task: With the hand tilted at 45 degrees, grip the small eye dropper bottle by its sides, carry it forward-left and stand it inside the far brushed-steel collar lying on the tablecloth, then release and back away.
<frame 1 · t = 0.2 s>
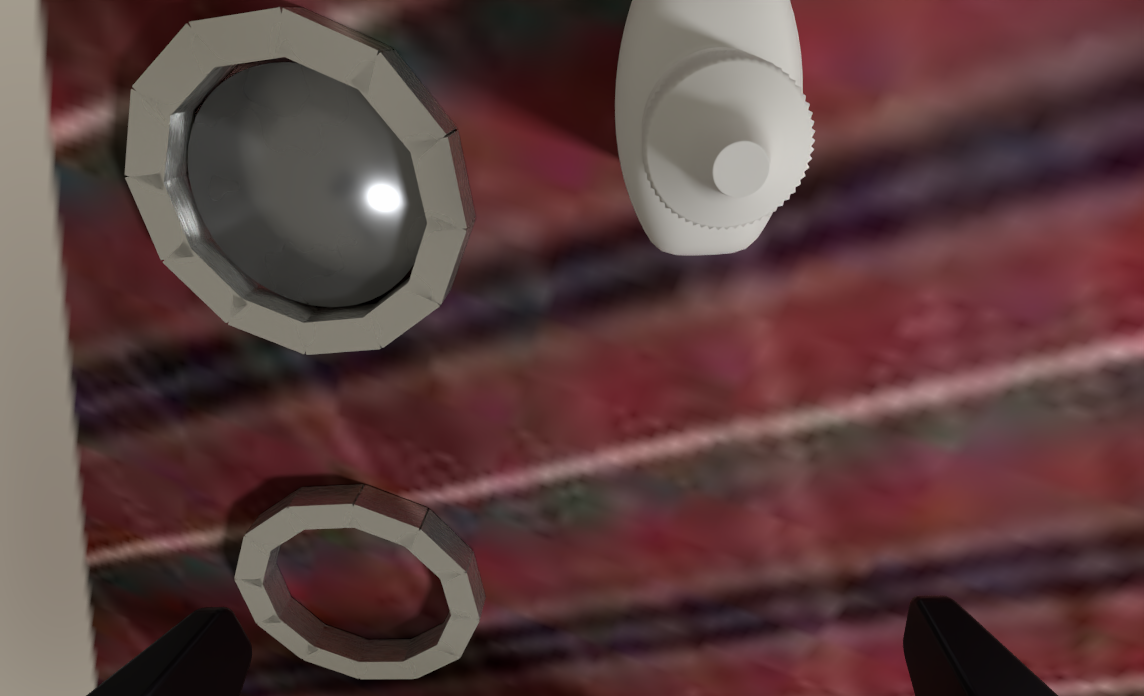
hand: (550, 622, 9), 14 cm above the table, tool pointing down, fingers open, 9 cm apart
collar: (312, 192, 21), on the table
eye dropper bottle: (683, 76, 19), on the table
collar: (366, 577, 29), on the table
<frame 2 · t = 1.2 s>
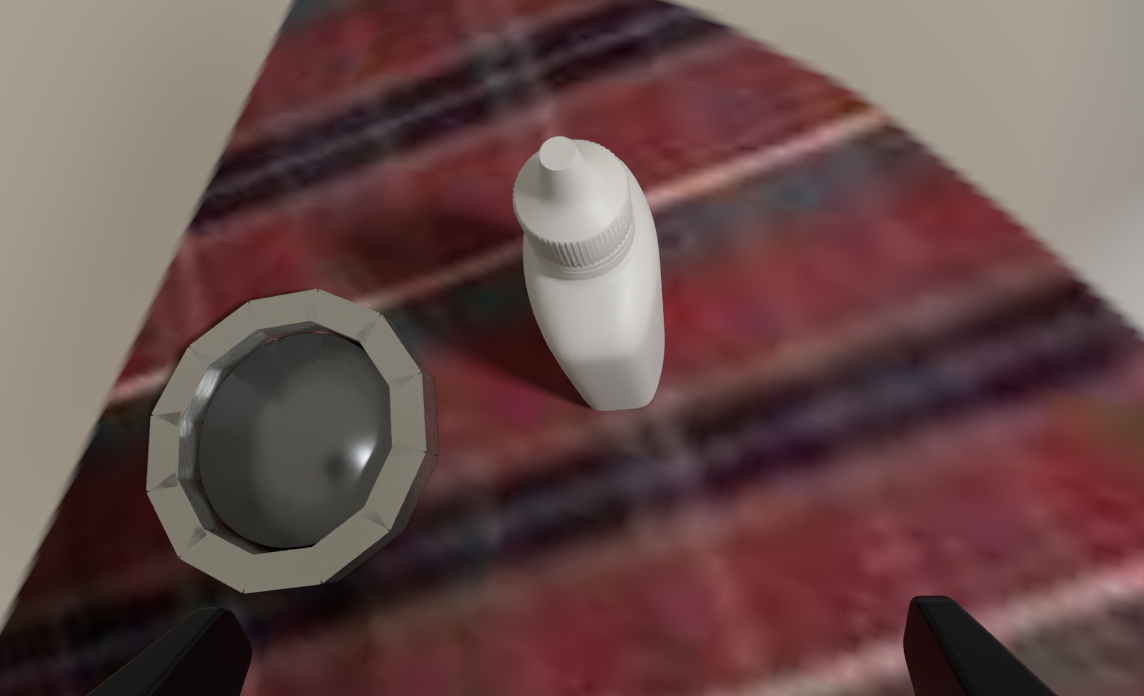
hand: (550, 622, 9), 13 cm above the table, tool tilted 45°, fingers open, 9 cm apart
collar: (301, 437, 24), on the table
eye dropper bottle: (616, 336, 24), on the table
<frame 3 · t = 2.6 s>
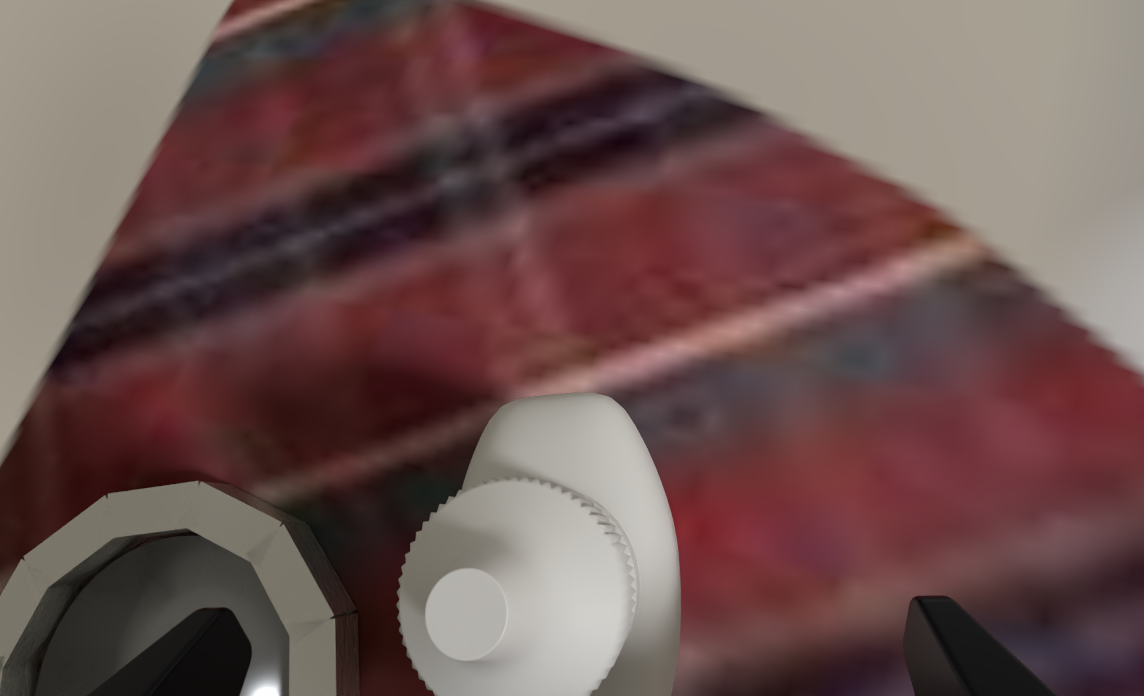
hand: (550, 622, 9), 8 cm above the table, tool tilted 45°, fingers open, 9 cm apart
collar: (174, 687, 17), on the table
eye dropper bottle: (611, 556, 17), on the table
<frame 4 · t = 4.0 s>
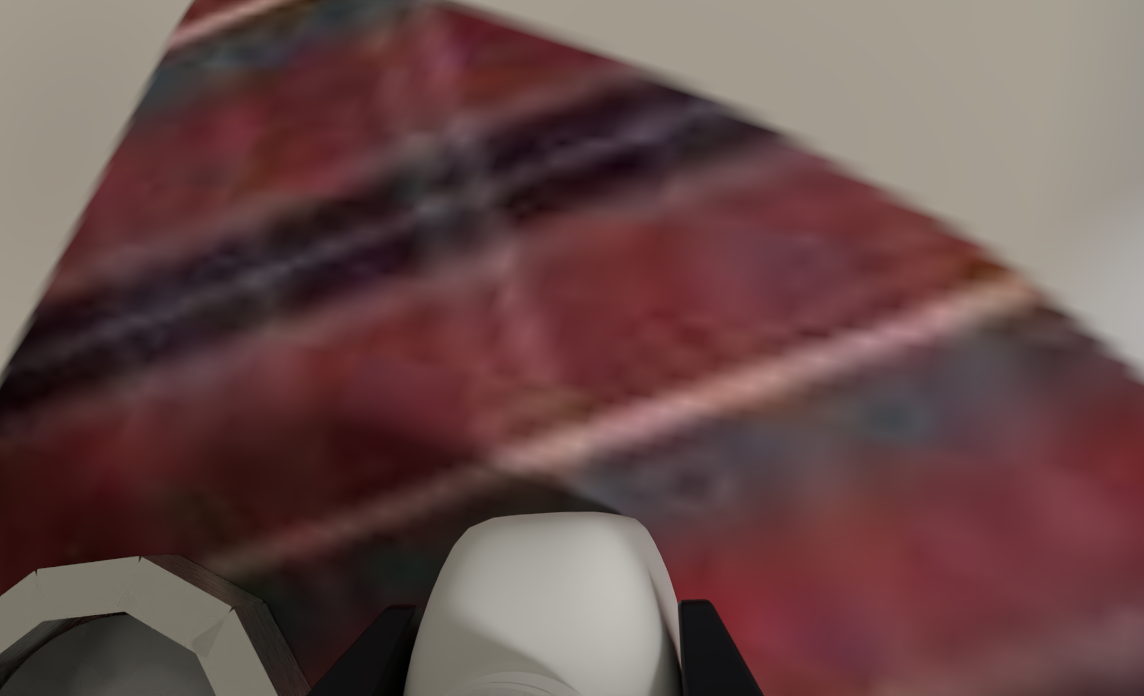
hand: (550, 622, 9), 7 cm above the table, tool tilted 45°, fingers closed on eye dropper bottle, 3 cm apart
eye dropper bottle: (607, 645, 15), on the table, touching gripper
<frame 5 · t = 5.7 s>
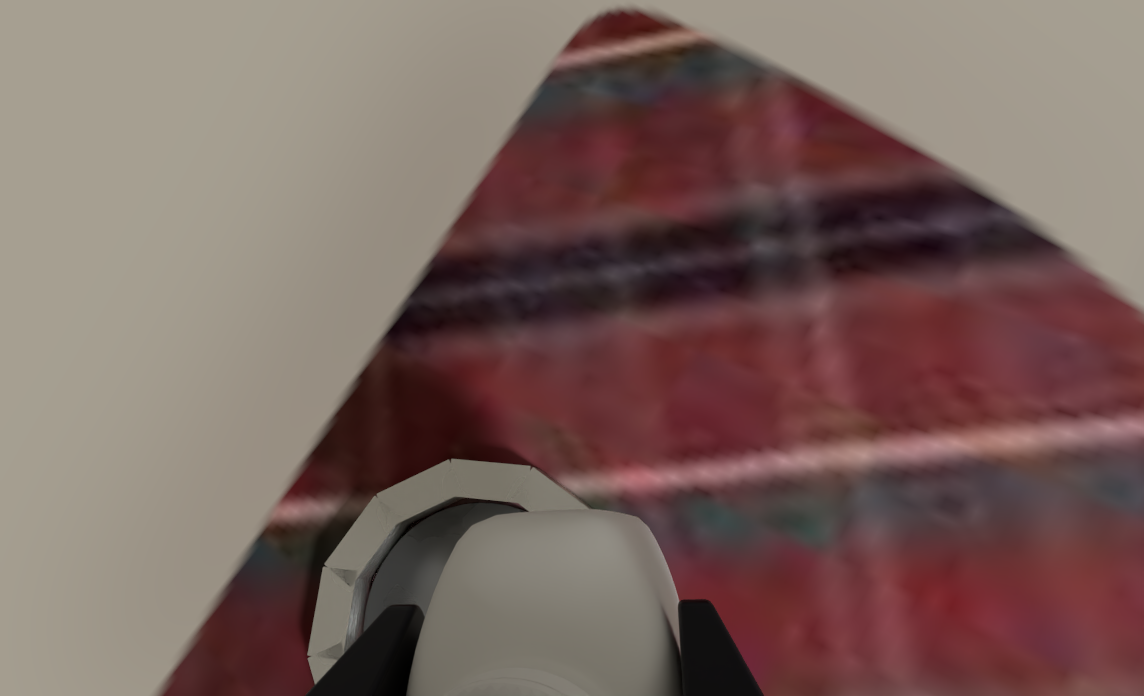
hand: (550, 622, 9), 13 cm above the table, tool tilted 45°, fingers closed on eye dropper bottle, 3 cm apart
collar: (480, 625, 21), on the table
eye dropper bottle: (609, 643, 15), point 6 cm above the table, touching gripper
when the fingers open (8 cm above the table, at t = 7.7 s): eye dropper bottle stays where it is, resting on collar.
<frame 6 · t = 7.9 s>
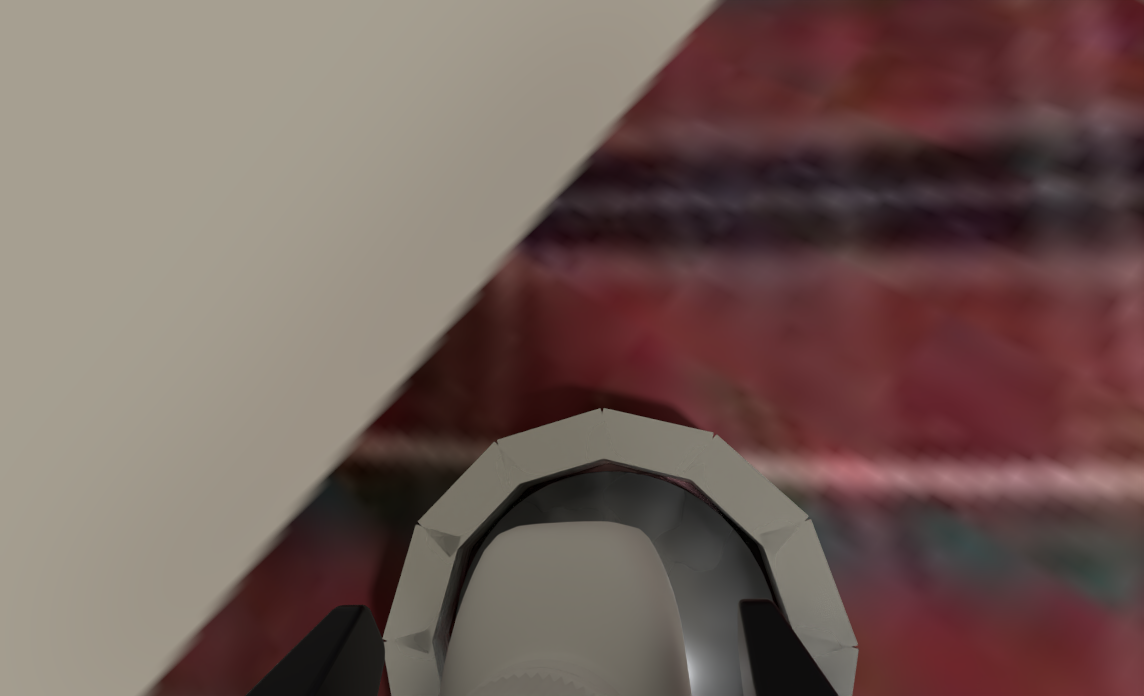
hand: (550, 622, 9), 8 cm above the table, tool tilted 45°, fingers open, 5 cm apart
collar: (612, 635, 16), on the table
eye dropper bottle: (611, 648, 16), resting on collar
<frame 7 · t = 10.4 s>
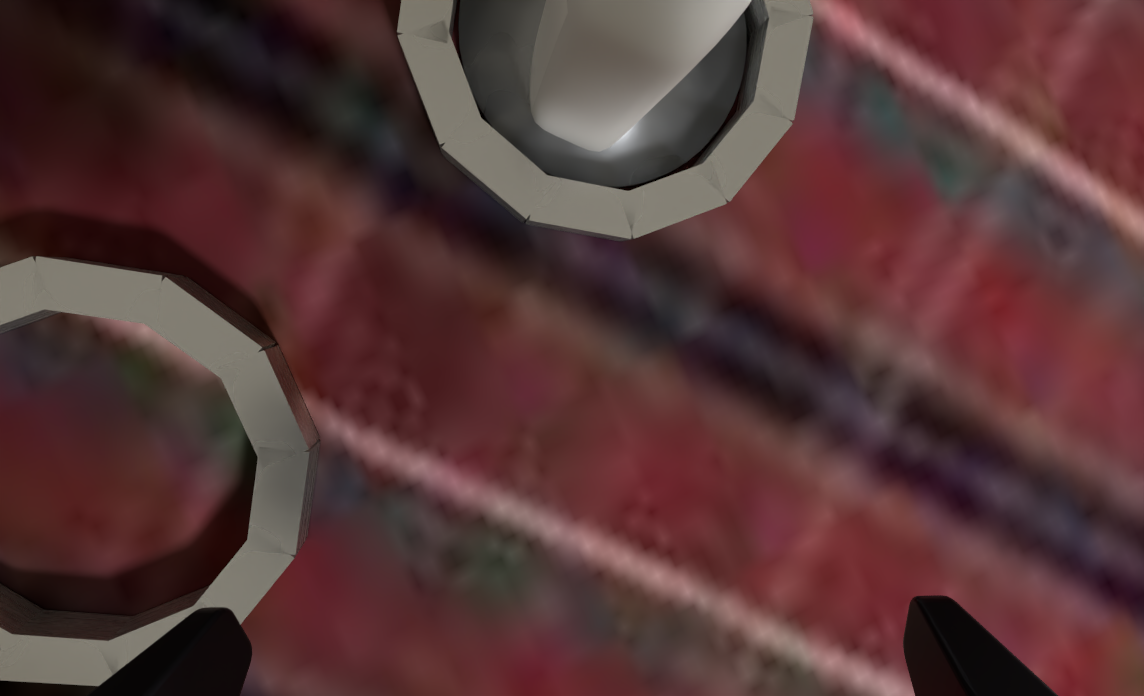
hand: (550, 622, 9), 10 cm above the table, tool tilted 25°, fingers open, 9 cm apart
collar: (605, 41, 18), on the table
eye dropper bottle: (601, 48, 18), resting on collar
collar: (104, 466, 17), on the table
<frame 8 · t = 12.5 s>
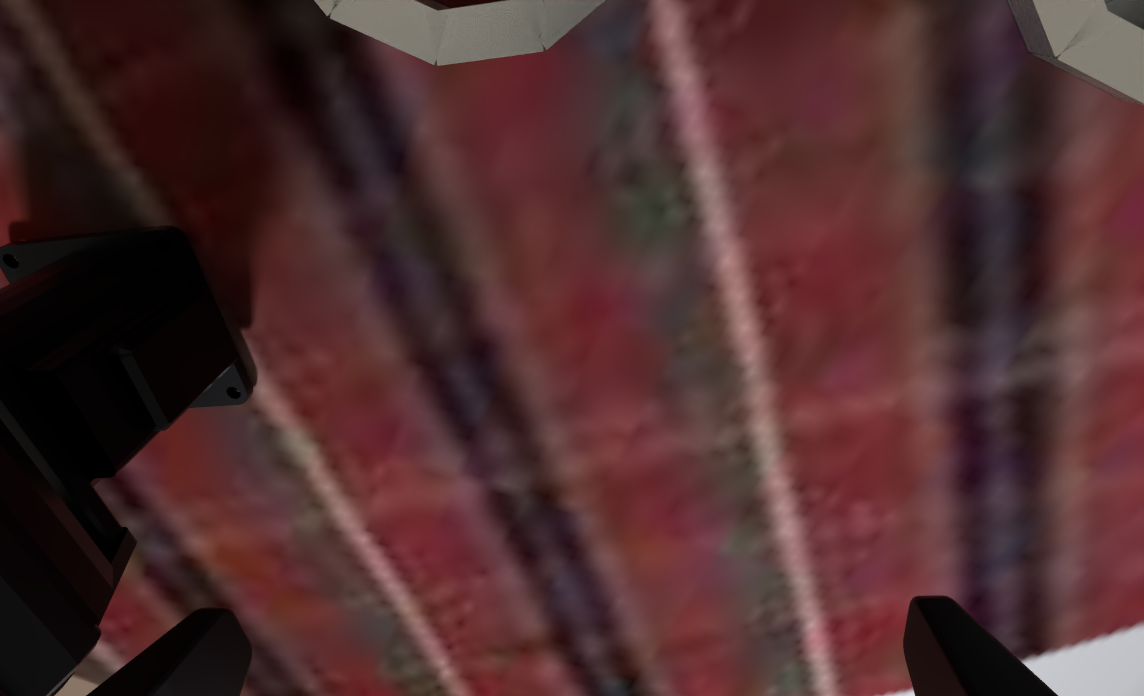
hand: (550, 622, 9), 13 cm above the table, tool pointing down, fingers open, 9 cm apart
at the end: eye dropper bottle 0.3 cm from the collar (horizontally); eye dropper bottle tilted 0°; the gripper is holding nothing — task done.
